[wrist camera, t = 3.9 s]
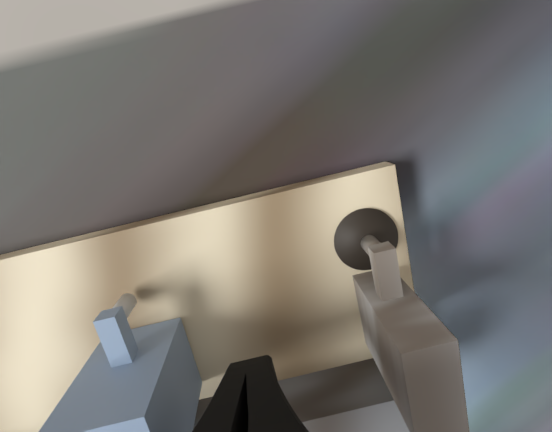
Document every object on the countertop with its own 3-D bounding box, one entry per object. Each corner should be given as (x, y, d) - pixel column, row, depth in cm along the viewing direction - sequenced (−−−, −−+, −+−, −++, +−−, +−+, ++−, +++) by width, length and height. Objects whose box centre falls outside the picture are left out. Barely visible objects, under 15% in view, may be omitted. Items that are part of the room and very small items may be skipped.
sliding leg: (167, 277, 14) (122, 360, 9) (202, 382, 15) (178, 504, 11) (88, 296, 14) (2, 389, 9) (129, 399, 15) (73, 529, 11)
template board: (385, 161, 15) (472, 191, 9) (419, 378, 17) (505, 513, 11) (-172, 296, 15) (-449, 413, 9) (-54, 491, 17) (-210, 682, 11)
